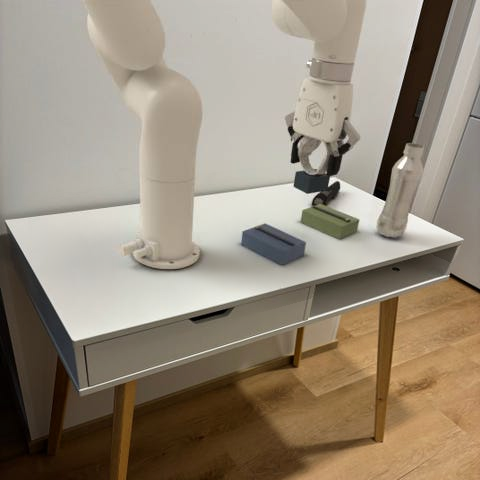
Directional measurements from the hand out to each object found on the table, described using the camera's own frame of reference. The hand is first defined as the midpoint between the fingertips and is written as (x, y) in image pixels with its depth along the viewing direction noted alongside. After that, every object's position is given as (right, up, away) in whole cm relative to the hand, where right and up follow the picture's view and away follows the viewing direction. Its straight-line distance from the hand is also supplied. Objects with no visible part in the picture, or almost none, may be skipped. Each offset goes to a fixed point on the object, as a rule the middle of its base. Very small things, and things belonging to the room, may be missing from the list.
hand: (313, 168), depth 97 cm
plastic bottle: (+19, -11, +14) cm, 26 cm away
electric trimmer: (+8, +1, +29) cm, 31 cm away
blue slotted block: (-8, -16, +2) cm, 18 cm away
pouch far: (+6, -9, +14) cm, 18 cm away
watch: (0, -4, +2) cm, 4 cm away
